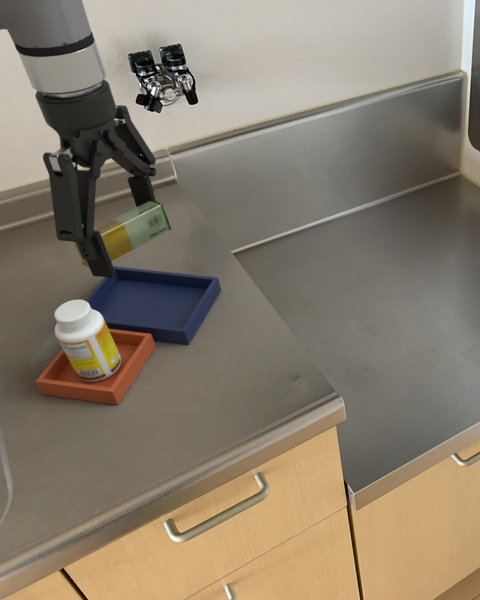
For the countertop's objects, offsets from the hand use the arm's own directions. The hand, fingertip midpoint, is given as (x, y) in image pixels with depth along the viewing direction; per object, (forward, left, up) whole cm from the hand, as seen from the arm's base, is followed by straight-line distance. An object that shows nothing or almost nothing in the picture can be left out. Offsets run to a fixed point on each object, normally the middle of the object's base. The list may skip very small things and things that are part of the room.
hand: (129, 246), depth 81 cm
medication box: (0, 0, 0) cm, 0 cm away
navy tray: (0, 0, -12) cm, 12 cm away
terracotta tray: (-1, -12, -12) cm, 17 cm away
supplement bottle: (-1, -12, -11) cm, 17 cm away
